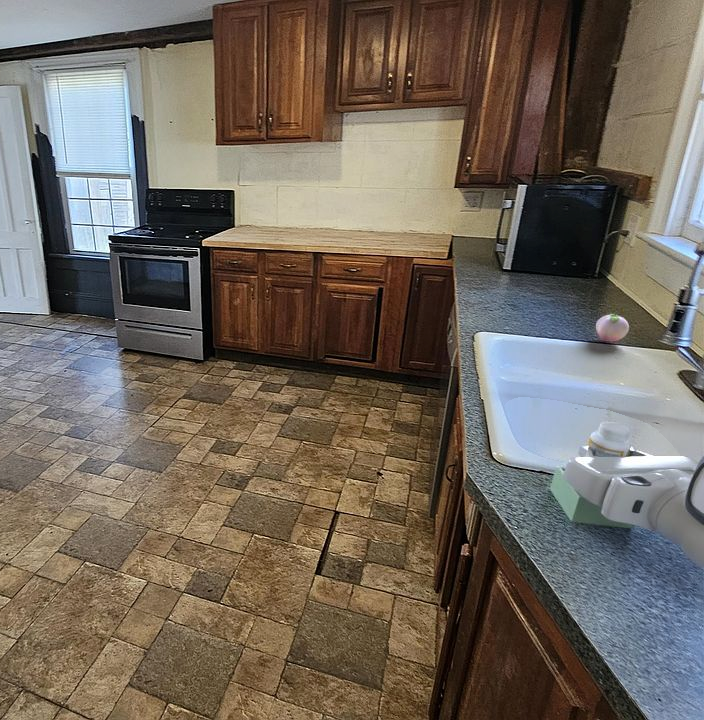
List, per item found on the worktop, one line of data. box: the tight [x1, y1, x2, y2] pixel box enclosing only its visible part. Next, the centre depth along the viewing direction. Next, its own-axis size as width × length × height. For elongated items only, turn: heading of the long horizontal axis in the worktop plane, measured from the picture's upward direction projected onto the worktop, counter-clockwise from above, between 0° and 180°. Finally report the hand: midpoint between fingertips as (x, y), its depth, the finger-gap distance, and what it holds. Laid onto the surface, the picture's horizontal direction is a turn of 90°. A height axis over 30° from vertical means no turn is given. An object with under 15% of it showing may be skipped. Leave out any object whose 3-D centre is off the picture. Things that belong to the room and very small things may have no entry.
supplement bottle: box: [587, 421, 632, 457], centre depth 88 cm, size 6×6×10 cm
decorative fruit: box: [595, 312, 630, 343], centre depth 167 cm, size 9×8×10 cm
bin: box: [549, 465, 634, 529], centre depth 91 cm, size 9×9×5 cm
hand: (603, 449), depth 88 cm, fingers closed on supplement bottle, 5 cm apart
